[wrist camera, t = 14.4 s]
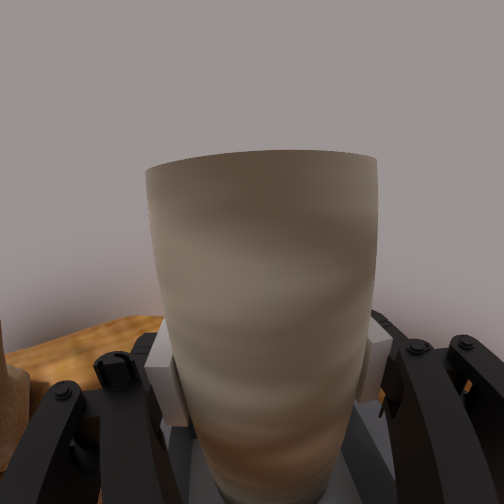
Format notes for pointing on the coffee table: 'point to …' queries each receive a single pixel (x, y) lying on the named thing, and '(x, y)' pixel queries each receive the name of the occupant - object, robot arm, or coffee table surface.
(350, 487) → the well
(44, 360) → the coffee table surface
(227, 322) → the peg
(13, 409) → the tan boot
